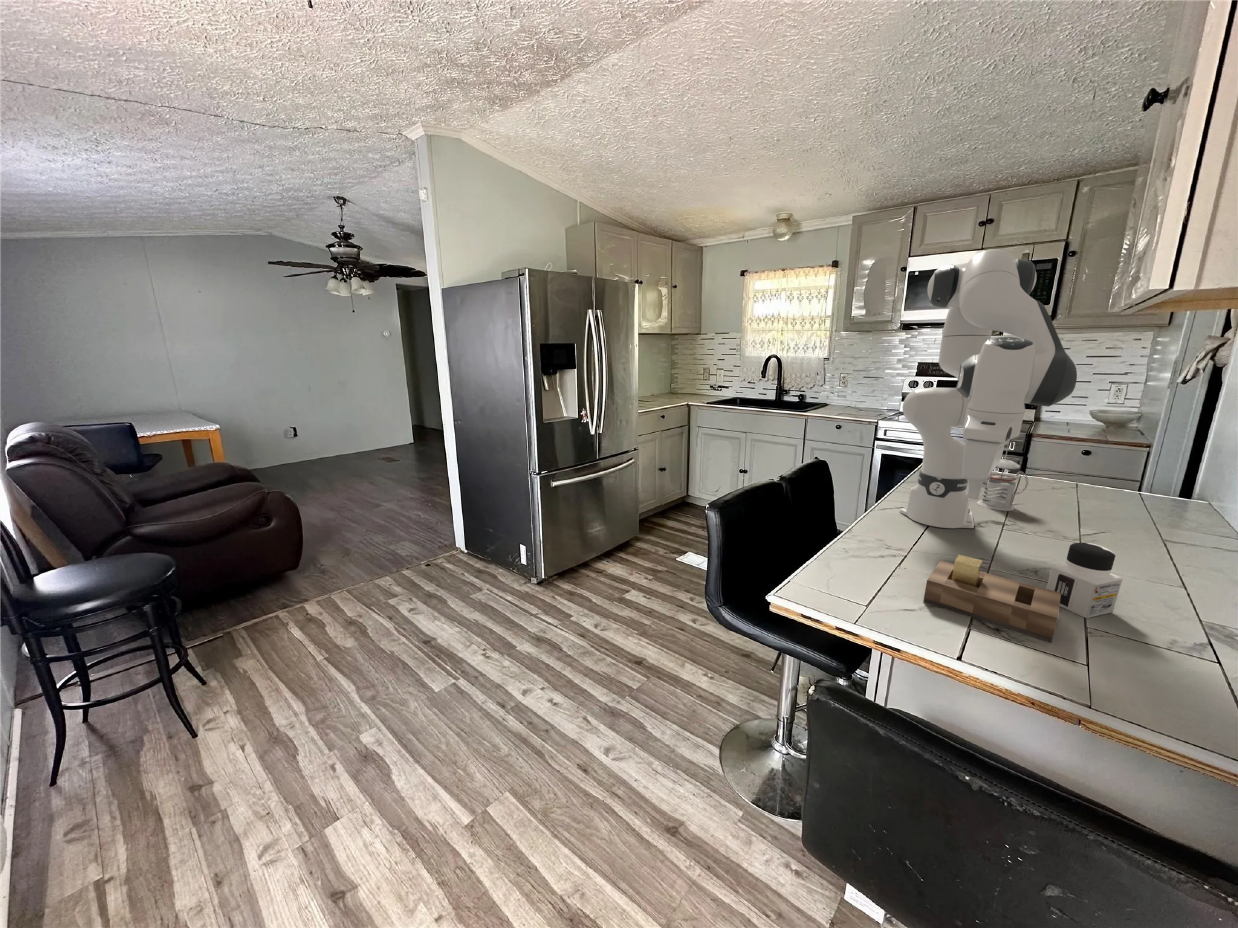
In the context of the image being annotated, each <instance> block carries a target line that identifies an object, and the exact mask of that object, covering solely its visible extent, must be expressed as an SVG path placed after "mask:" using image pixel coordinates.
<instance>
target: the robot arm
mask: <svg viewBox="0 0 1238 928" xmlns="http://www.w3.org/2000/svg"><path fill="white" fill-rule="evenodd" d="M1036 282H1037V272H1036V265H1035V264H1034V263H1033V261H1031V260H1028V259H1021V258H1016V259H1014V258H1013V256H1012V254H1010V253H1009V252H1007V251H1006V250H1003V249H998V248H996V249H995V248H994V249H993V248H992V249H987V250H983V251H981V252H979V253H977V254H976V255H974V256H972V258H970V259H969V261H968V262H964V263H958V264H953V263H951V264H947V265H943V266H940V267H939V268H937V269H936V270H934V272H933V273H932V276H931V277H930V279H929V281H928V283H927V297H928V299H929V303H930V304H931V305H932V306H934V307H938V308H944V309H945V308H947V307H949V309H948V311H947V315H946V317H945V321H944V325H943V330H942V334H941V335H942V336H941V341H940V350H939V355H938V357H939V358H938V365H939V367H940V369H942V370H943V372H945V373H947V374H948V375H951V376H954V377H955V378H956V379H957V383H956V386H955V387H925V388H919V389H913V390H911V391H910V392H909V393H908V394H907V395H906V397H904V400H903V402H902V414H903V416H904V418H905V419H906V421H907V422H908V423H909V424H911V425H912V426H914V428H915V429H916V430H917V432H918V433H919V435H920V437H921V440H922V442H923V443H922V444H923V456H922V465H921V470H920V471H919V473H918V475H917V484H916V485H915V486H913V487H911V489H910V491H909V496H908V501H907V505H906V506H904V507H902V508H900V511H899V513H901V514H903V515H905V516H907V517H908V518H909V519H911V520H913V521H915V522H917V523H920V524H923V525H927V526H930V527H935V528H943V529H961V528H962V529H964V528H965V529H974V528H975V523H974V517H973V512H972V510H971V509H970V508H969V505H970V500H971V499H972V500H978V499H979V498H981V493H982V488H984V487H986V486H987V485H988V482H989V478H990V475H991V474H993V471H994V470H995V469H996V468H997V467H996V466H997V464H998V463H999V462H1000V460H1001V459H1002V457H1003V452H1004V448H1005V446H1008V444H1009V445H1010V441H1011V440H1012V439H1013V438H1018V437H1020V433H1021V429H1022V426H1023V424H1022V423H1023V421H1024V420H1023V419H1024V416H1025V411H1026V407H1025V406H1026V405H1025V404H1028V405H1033V406H1041V407H1051V406H1053V405H1055V404H1057V403H1059V402H1062V401H1063V400H1065V399H1066V398H1067V397H1069V396H1071V395H1072V393H1073V392H1074V390H1075V388H1076V385H1077V380H1078V371H1077V370H1078V369H1077V367H1076V365H1075V363H1074V361H1073V359H1072V358H1071V357H1070V356H1069V355H1068V353H1067V351H1066V350H1065V348H1064V346H1063V344H1062V342H1061V339H1060V337H1059V334H1058V333H1057V330H1056V327H1055V325H1054V322H1053V320H1052V318H1051V316H1050V314H1049V312H1048V310H1047V309H1046V306H1045V305H1044V304H1043V303H1042V302H1041V301H1038V300H1037V299H1034V298H1033V296H1030V295H1031V293H1032V291H1033V290H1034V287H1035V286H1036ZM993 331H996V332H1001V333H1006V334H1009V335H1012V337H1011V336H1002V337H1001V336H1000V337H999V336H998V337H993V338H992V333H993ZM1013 336H1015V337H1013ZM952 428H962V431H963V432H962V438H963V439H965V443H964V442H962V441H960V440H958V439H957V438H954V437H952V435H951V429H952ZM1009 440H1010V441H1009ZM967 488H968V491H966V490H967ZM967 492H968V493H967Z"/></svg>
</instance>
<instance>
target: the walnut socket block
mask: <svg viewBox="0 0 1238 928" xmlns="http://www.w3.org/2000/svg"><path fill="white" fill-rule="evenodd" d="M953 569H954V563H950V562H946V561H943V560H940V561H939V562H938V564H937V565H936V567H935V568H934V570H933V571H931V573H930V575H929V576H928V578H927V579H926V584H925V585H926V586H925V589H924V594H923V595H924V596H923V603H926V604H928V605H932V606H935V607H938V608H941V609H945V610H947V611H949V612H954V613H957V614H959V615H963V616H967V617H969V618H973V619H975V620H978V621H982V622H985V623H987V624H991V625H994V626H997V627H1000V628H1003V629H1006V630H1010V631H1013V632H1014V633H1015V632H1016V633H1019V634H1022V635H1025V636H1029V637H1031V638H1035V639H1038V640H1041V641H1043V642H1047V643H1049V644H1051V643H1052V642H1053V641H1052V640H1053V637H1054V634H1055V629H1056V626H1057V622H1058V617H1059V610H1060V606H1059V605H1060V598H1061V593H1060V592H1056V591H1052V590H1048V589H1046V588H1044V587H1041V586H1040V587H1039V586H1036V585H1034V584H1029V583H1025V582H1021V581H1017V580H1014V579H1009V578H1006V577H1003V576H999V575H995V574H991V573H989V572H988V573H987V572H985V571H981V570H980V575H979V580H978V584H977V587H973V586H970V585H966V584H963V583H959V582H956V581H952V580H951V579H952V574H953Z"/></svg>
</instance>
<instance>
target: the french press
mask: <svg viewBox="0 0 1238 928" xmlns="http://www.w3.org/2000/svg"><path fill="white" fill-rule="evenodd" d="M1010 441H1011V439H1010V440H1009V442H1010ZM1009 445H1010V443H1009V444H1007V445H1006V452H1005V457H1004V458H1003V459H1002V458H1001V460H1000V462H999V463H998V464H997V466H996V467H995V468H998V469H1002V470H1001V473H991V475H990V478H989V482H988V485H987V486H986V487H983V491H982V495H981V499H979V500H978V501H977V502H976V504H978V506H981V507H983V508H987V509H990V510H996V511H1002V512H1003V511H1004V512H1007V511H1008V512H1011V511H1012V512H1013V511H1014V510H1015V507H1014V506H1013V501H1014V498H1015V495H1020V494H1022V493H1023V492H1025V491H1026V490H1027V487H1028V485H1029V478H1028V475H1027V474H1026V473H1024V472H1023V471H1021V470H1019V469H1020V468H1021V465H1020V464H1018V463H1017V462H1015V461H1013V460H1009V459H1007V454H1008V449H1009ZM1004 469H1005V470H1019V471H1017V472H1016V476H1017V477H1018V476H1019V475H1020V474H1021V475H1022V477H1024V480H1025V486H1024V488H1023V489H1022V490H1021V491H1017V492H1015V489H1016V484H1017V483H1016V482H1015V481H1016V478H1015V477H1014V476H1011V475H1007V474H1003V472H1004ZM1003 483H1004V484H1003ZM995 492H996V493H995ZM1014 492H1015V493H1014Z"/></svg>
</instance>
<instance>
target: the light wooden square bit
mask: <svg viewBox="0 0 1238 928" xmlns="http://www.w3.org/2000/svg"><path fill="white" fill-rule="evenodd" d="M953 564H954V569H953V574H952V579H951V580H952V581H956V582H959V583H963V584H966V585H970V586H973V587H977V584H978V580H979V575H980V571H981V569H982V564H983V560H981V559H977V558H974V557H970V556H966V555H962V554H958V555H957V557H956V559H955V560H954V563H953Z"/></svg>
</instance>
